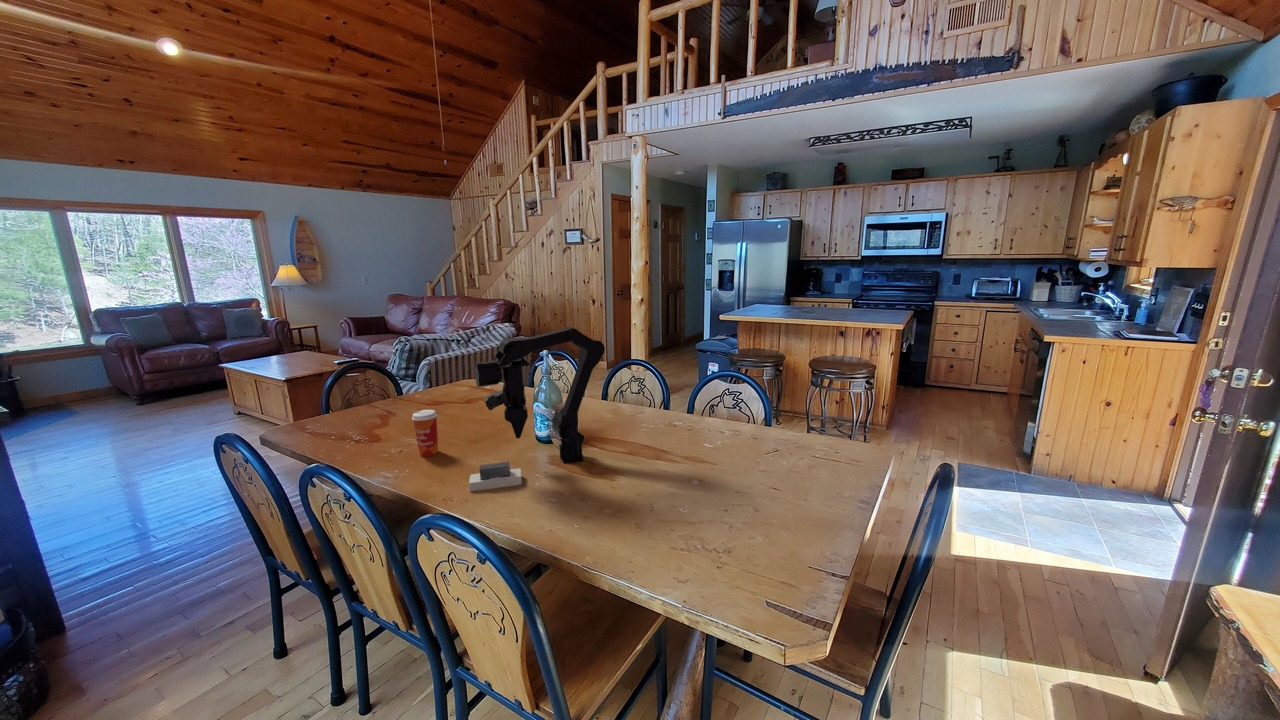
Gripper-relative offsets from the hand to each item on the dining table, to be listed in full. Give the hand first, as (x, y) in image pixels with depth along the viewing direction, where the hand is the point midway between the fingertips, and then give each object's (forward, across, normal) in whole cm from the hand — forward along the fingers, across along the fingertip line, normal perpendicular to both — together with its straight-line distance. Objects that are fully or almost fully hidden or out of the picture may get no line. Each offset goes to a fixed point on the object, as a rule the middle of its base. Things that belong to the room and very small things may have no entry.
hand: (517, 432), depth 145 cm
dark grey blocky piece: (+12, +7, -7) cm, 15 cm away
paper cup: (+12, -23, -29) cm, 39 cm away
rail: (+12, +7, -7) cm, 16 cm away
